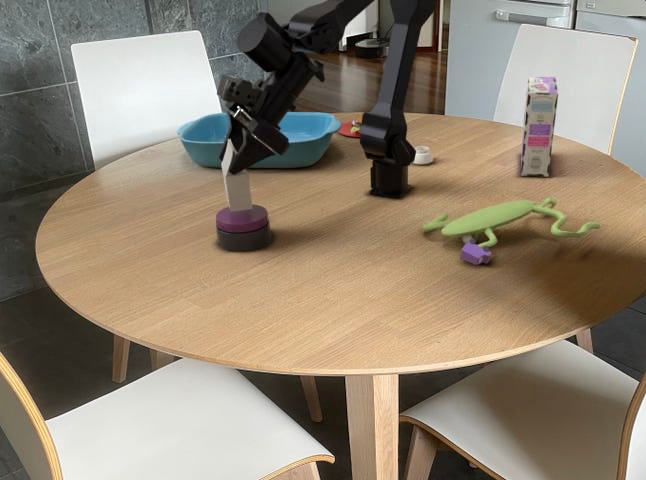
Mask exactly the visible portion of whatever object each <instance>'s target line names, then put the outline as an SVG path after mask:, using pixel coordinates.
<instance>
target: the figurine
mask: <svg viewBox="0 0 646 480" xmlns="http://www.w3.org/2000/svg"><path fill="white" fill-rule="evenodd" d="M557 203H558V201H557V198H555V197H552V196H549V197H546V198H545V199H544V200H543V201H542V203H540V204H539V205H537V203H536V202H535V201H533V200H526V199H522V200H516V201H514V200H513V201H508V202H503V203H499V204H494V205H491V206H487V207H485V208H482V209H481V208H480V209H478V210H476V211H475V210H474V211H473V212H471V213H467V214H466V215H462V216H460V217H458V218H456V219H455V220H447V219H448V218H449V214H448V213H447V211H444V212H442V214H440V215H439V216H437V217H436V218H434V219H432V220H431V221H429V222H427V223H426V224H424V225H423V226H422V231H423V232H424V233H428V232H431V231H433V230H434V231H435V230H437V229H441V228H442V229H441V230H440V231H441V233H440V234H441V235H443V236H444V237H454V238H456V237H457V238H458V239H461V240H462V242H463V244H464V245H463V247H462V248H461V251H460V257H459V258H460V259H461V260H463V261H466V262H468V263H470V264H472V265H474V266H479V265H480V264H488V263H489V261H490V259H491V256H492V252H491V251H490V247H494V246H495V245H496V244H497V243H498V239H497V237H496V235H495V233H494V232H493V230H494V231H497V232H501V233H504V231H503V230H501V229H497V228H500V227H503V226H506V225H508V224H511V223H513V222H515V221H518V220H520V219H522V218H524V217H526V216H527V215H529V214H531V213H535V214H540V215H545V216H546V217H547V216H550V217H553V218H556V219H558V220H555V222H554V223H553V224H552V225H551V227H550V232H551V234H552V235H553V236H556V237H558V238H559V237H561V238H574V239H575V238H577V239H578V238H581V237H583V236H585V235H587V234H588V231H590V230H595V229H599V230H600V227H601V224H600V222H599V221H588V222H586V223H584V224H583V225H581V227H580V229H579V230H578V231H576V232H575V231H564V230H560V228H561V227H562V226H563V225H564V224H565V223H566V222H567V220H568V216H567V215H566V214H565V213H563V211H560V210H558V209H554V207H555V206H556V205H557ZM548 204H549V205H550V206H549V207H547V206H546V205H548ZM483 232H484V233H485V235H486V236H487V238H488V239H489V240H488V241H485V242H481V243H478V244H476V243H477V239H478V237H479V235H480V233H483Z"/></svg>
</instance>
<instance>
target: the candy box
mask: <svg viewBox="0 0 646 480" xmlns="http://www.w3.org/2000/svg"><path fill="white" fill-rule="evenodd" d="M558 98H559V89H558V84H557V79H556V76H527V81H526V92H525V101H524V102H525V103H524V115H523V125H522V141H521V154H520V157H521V158H520V176H524V177H541V178H542V177H545V178H548V177H549V176H550V168H551V160H552V159H551V158H552V149H553V140H554V133H555V132H554V131H555V125H556V116H557V108H558V100H559V99H558Z"/></svg>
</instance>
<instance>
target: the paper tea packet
mask: <svg viewBox="0 0 646 480" xmlns="http://www.w3.org/2000/svg"><path fill="white" fill-rule="evenodd" d="M236 155H237V151H236V150H235V148H234V146H233V144H232V142H231V139H230V140H229V139H228V144H227V148H226V152H225V155H224V158H223V161H222V164H221V165H222V168H221V171H222V177H223V184H224V190H225V196H226V200H227V204H228V207H230V211H231V212H233V211H240V210H247V209H253V206H252V204H253V199H252V192H251V186H250V185H251V183H250V178H249V172H248V171H247V168H246V169H244V170H243V171H241V172H239V173H237V174H235V175H233V174H231V173H230V172H229V168H230V166H231V164H232V162H233V160H234V159H235V157H236Z"/></svg>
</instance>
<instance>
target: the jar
mask: <svg viewBox="0 0 646 480" xmlns="http://www.w3.org/2000/svg"><path fill="white" fill-rule="evenodd" d="M215 228H216V235H217V241H218V242H217V243H218V246H219V247H220V248H222V249H223V250H225V251H230V252H238V253H241V252H250V251H255V250H259V249H261V248H263V247H266V246H267V245H268V244H270V243H271V241H272V230H271V222H270V219H269V218H268V222H267V224H266V225H264V226H263V227H261V228H259V229H256V230H253V231H248V232H238V233H237V232H227V231H223V230H221V229H219V228H218V226H217V224H216V223H215Z"/></svg>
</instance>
